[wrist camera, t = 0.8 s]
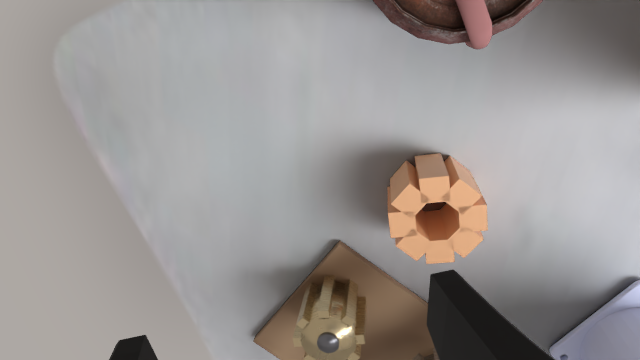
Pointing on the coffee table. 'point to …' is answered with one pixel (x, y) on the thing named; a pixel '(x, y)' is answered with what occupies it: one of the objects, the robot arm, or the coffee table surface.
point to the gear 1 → (331, 321)
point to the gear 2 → (429, 359)
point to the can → (456, 18)
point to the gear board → (382, 312)
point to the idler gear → (441, 225)
